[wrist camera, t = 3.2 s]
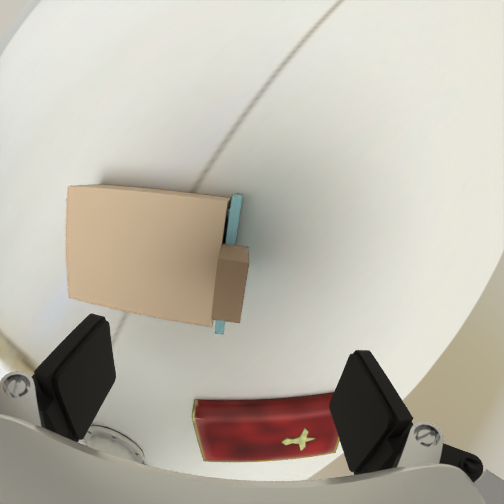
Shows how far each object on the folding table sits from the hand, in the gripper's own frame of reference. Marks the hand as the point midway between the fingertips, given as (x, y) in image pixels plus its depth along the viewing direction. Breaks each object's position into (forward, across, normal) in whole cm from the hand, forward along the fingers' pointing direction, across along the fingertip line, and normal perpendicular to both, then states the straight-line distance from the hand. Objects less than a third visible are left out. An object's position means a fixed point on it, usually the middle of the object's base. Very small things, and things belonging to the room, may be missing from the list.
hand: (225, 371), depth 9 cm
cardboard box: (+20, +9, +1) cm, 22 cm away
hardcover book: (+20, -8, +26) cm, 34 cm away
